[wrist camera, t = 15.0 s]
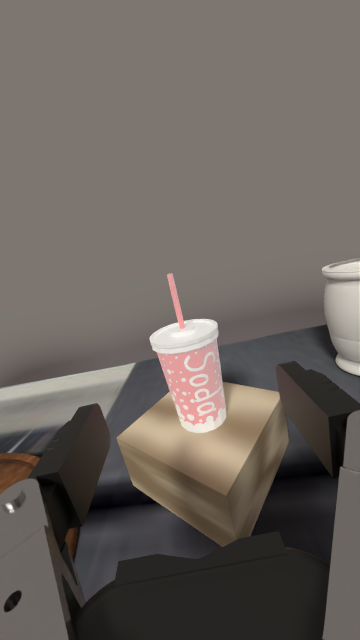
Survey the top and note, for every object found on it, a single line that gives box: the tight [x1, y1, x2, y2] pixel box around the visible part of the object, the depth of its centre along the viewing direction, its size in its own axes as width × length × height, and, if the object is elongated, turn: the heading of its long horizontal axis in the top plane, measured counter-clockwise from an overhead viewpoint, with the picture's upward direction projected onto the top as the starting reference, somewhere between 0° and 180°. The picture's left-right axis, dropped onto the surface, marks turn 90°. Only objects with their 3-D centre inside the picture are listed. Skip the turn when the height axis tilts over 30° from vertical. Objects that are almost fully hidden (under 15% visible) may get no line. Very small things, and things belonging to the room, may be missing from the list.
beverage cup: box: [150, 274, 226, 433], centre depth 22 cm, size 6×6×14 cm
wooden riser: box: [117, 382, 289, 547], centre depth 25 cm, size 12×12×6 cm
